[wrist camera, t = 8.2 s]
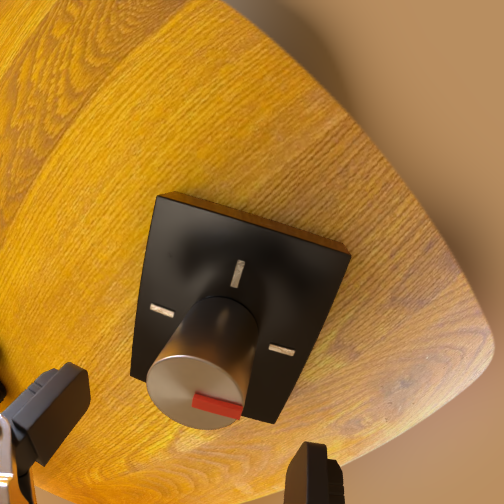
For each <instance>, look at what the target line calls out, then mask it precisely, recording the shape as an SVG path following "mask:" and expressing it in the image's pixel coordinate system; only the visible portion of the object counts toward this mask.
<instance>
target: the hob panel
mask: <svg viewBox="0 0 504 504" xmlns="http://www.w3.org/2000/svg"><path fill="white" fill-rule="evenodd" d="M350 259H351V254H350V253H349V251H348V250H347V248H346V247H345V245H344V244H343V243H340V242H338V241H335V240H332V239H329V238H325V237H322V236H319V235H316V234H313V233H310V232H307V231H304V230H301V229H298V228H295V227H292V226H289V225H285V224H282V223H279V222H276V221H273V220H270V219H266V218H263V217H260V216H257V215H253V214H250V213H247V212H244V211H240V210H237V209H234V208H230V207H227V206H224V205H220V204H217V203H214V202H210V201H207V200H203V199H200V198H197V197H193V196H190V195H186V194H183V193H179V192H176V191H174V192H169V193H165V194H160V195H157V197H156V201H155V206H154V211H153V216H152V220H151V225H150V230H149V236H148V241H147V246H146V252H145V258H144V263H143V270H142V276H141V282H140V289H139V296H138V303H137V311H136V319H135V327H134V336H133V346H132V357H131V369H130V376H132V377H134V378H136V379H139V380H141V381H143V382H146V379H147V374H148V371H149V369H150V367H151V366H152V364H153V363H154V362H155V360H156V359H157V357H158V356H159V354H160V353H161V351H162V350H163V348H164V347H165V345H166V344H167V342H168V341H169V339H170V338H171V336H172V335H173V334H174V332H175V331H176V329H177V328H178V326H179V325H180V323H181V322H182V320H183V319H184V318H185V316H186V315H187V313H188V312H189V310H190V309H191V308H192V307H193V306H194V305H195V304H196V303H198V302H199V301H201V300H204V299H207V298H212V297H221V298H227V299H230V300H233V301H235V302H238V303H239V304H241V305H242V306H244V307H245V308H246V309H247V310H248V311H249V312H250V313H251V314H252V316H253V317H254V319H255V321H256V324H257V327H258V340H257V345H256V350H255V355H254V360H253V365H252V370H251V375H250V380H249V385H248V389H247V394H246V399H245V404H244V408H243V411H242V414H241V416H244V417H247V418H251V419H255V420H259V421H263V422H267V423H271V424H275V422H276V421H277V419H278V417H279V415H280V413H281V411H282V409H283V407H284V406H285V404H286V402H287V400H288V398H289V396H290V394H291V392H292V390H293V388H294V386H295V384H296V382H297V380H298V378H299V376H300V374H301V372H302V370H303V368H304V366H305V364H306V362H307V360H308V357H309V355H310V353H311V351H312V349H313V347H314V345H315V342H316V340H317V338H318V336H319V334H320V331H321V329H322V327H323V325H324V322H325V320H326V318H327V316H328V313H329V311H330V309H331V306H332V304H333V302H334V299H335V297H336V294H337V292H338V289H339V287H340V285H341V282H342V280H343V277H344V275H345V272H346V270H347V267H348V264H349V262H350Z"/></svg>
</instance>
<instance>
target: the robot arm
mask: <svg viewBox="0 0 504 504" xmlns="http://www.w3.org/2000/svg"><path fill="white" fill-rule="evenodd" d="M90 400H91V396H90V388H89V379H88V372H87V371H86V370H85V369H83V368H81V367H79V366H77V365H75V364H73V363H71V362H68V363H66V364H65V365H64V366H63V367H62V368H61V369H60V370H59V371H58V370H56V369H55V368H54V369H51V370H49V371H47V372H44V373H42V374H41V375H40V376H39V377H38V378H37V379H36V380H35V381H34V383H32V384H31V385H30V386H29V387H28V389H26V390H25V391H24V392H23V393H21V394H20V395H19V396H18V397H17V398H16V399H15V400H14V401H13V402H12V403H11V404H10V405H9V406H8V407H7V408H6V409H5V410H4V411H3V412H2V413H0V504H37V501H36V495H35V488H34V481H33V473H32V467H31V466H32V465H33V463H34V462H35V461H36V462H38V463H39V464H41V465H42V466H44V467H45V465H46V464H47V463H48V461H49V460H50V459H51V457H52V456H53V454H54V453H55V452H56V450H57V449H58V448H59V446H60V445H61V444H62V442H63V441H64V440H65V438H66V437H67V436H68V435H69V433H70V432H71V431H72V429H73V428H74V427H75V425H76V424H77V423H78V421H79V420H80V419H81V417H82V416H83V415H84V414H85V412H86V411H87V409H88V407H89V404H90ZM284 504H345V499H344V486H343V473H342V470H341V468H340V466H339V464H338V463H337V461H336V460H332V459H327V447H326V445H325V444H319V443H312V442H306V441H305V442H303V444H302V445H301V447H300V448H299V450H298V451H297V453H296V455H295V456H294V458H293V459H292V461H291V462H290V464H289V466H288V469H287V473H286V480H285V493H284Z"/></svg>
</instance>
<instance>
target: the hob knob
mask: <svg viewBox="0 0 504 504" xmlns="http://www.w3.org/2000/svg"><path fill="white" fill-rule="evenodd" d="M257 340H258V327H257V324H256V321H255V319H254V317H253V316H252V314H251V313H250V312H249V311H248V310H247V309H246V308H245V307H244V306H242V305H241V304H239V303H238V302H235V301H233V300H230V299H227V298H221V297H212V298H207V299H204V300H201V301H199V302H198V303H196V304H195V305H194V306H193V307H192V308H191V309H190V310H189V312H188V313H187V315H186V316H185V318H184V319H183V320H182V322H181V323H180V325H179V326H178V328H177V329H176V331H175V332H174V334H173V335H172V336H171V338H170V339H169V341H168V342H167V344H166V345H165V347H164V348H163V350H162V351H161V353H160V354H159V356H158V357H157V359H156V360H155V362H154V363H153V364H152V366H151V367H150V369H149V371H148V374H147V379H146V383H147V390H148V393H149V396H150V397H151V399H152V401H153V402H154V404H155V405H156V406H157V408H158V409H159V410H160V411H161V412H162V413H164V414H165V415H166V416H168V417H169V418H171V419H172V420H174V421H176V422H178V423H180V424H182V425H185V426H187V427H191V428H195V429H202V430H214V429H220V428H223V427H226V426H228V425H230V424H232V423H233V422H235V421H236V420H239V419H240V417H241V414H242V411H243V408H244V404H245V399H246V394H247V389H248V385H249V380H250V375H251V370H252V365H253V360H254V355H255V350H256V345H257Z"/></svg>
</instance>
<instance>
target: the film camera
mask: <svg viewBox="0 0 504 504" xmlns="http://www.w3.org/2000/svg"><path fill="white" fill-rule="evenodd" d="M5 396H6V390H5V388H4V386H3V384H2V383H1V381H0V403H1V402H2V401H3V400H4V398H5Z"/></svg>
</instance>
